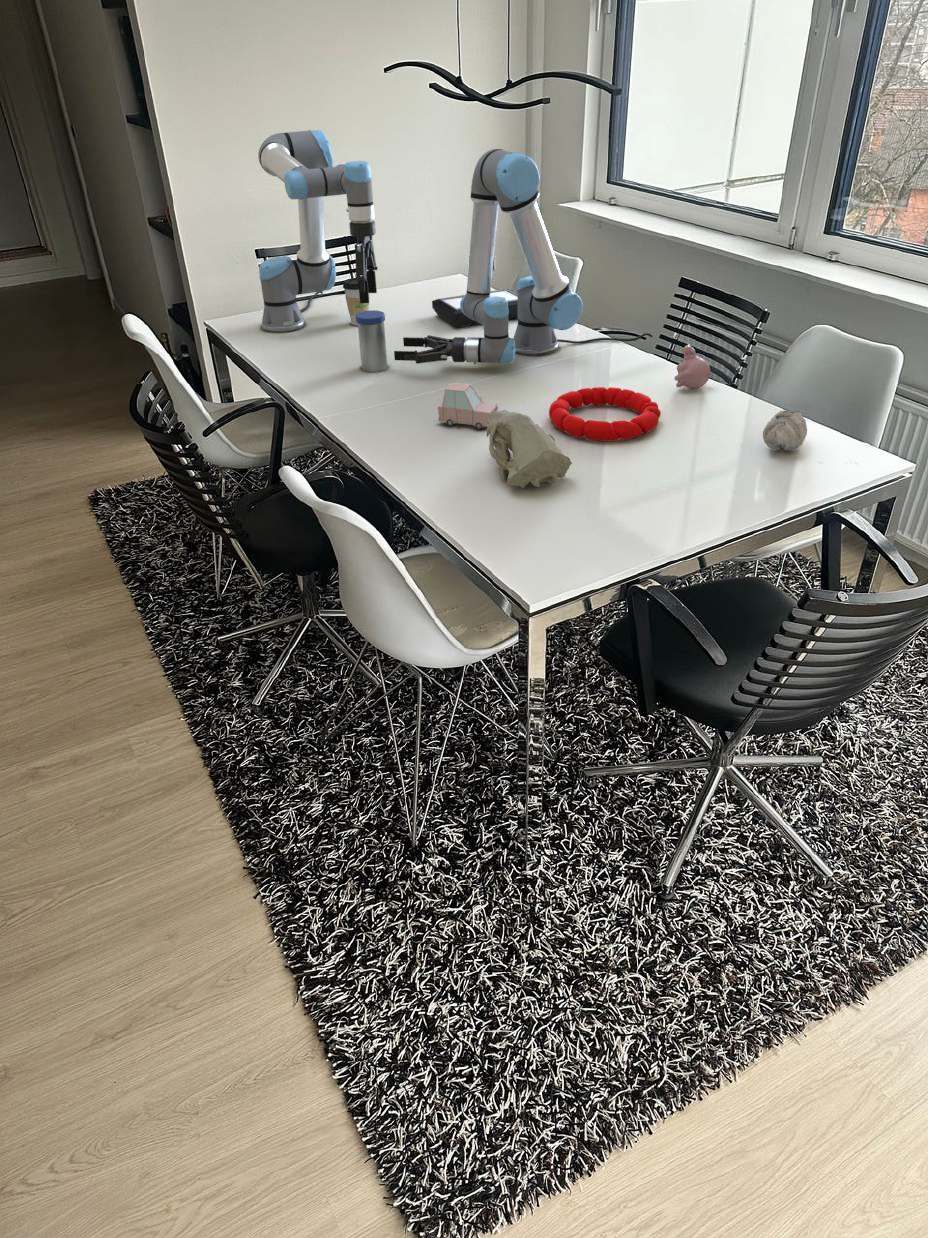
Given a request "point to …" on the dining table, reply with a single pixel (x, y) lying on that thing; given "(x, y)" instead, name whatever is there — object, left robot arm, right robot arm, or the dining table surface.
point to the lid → (370, 317)
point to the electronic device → (454, 315)
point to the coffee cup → (354, 299)
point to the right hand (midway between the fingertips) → (399, 348)
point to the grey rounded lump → (785, 431)
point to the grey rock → (525, 450)
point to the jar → (372, 347)
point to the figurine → (692, 370)
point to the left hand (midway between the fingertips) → (368, 297)
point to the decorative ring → (604, 428)
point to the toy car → (465, 406)
